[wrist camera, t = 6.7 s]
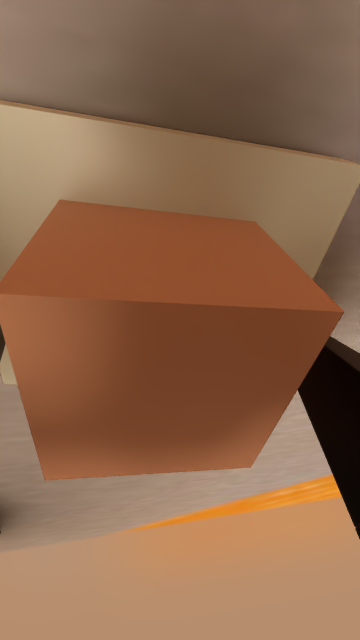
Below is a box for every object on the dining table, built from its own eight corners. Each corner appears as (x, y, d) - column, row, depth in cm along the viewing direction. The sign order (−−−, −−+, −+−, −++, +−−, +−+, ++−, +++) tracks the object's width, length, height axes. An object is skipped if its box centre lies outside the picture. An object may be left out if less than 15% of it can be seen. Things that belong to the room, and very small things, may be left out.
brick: (214, 354, 13) (250, 467, 9) (74, 352, 12) (44, 480, 8) (255, 221, 9) (344, 312, 5) (59, 199, 8) (-9, 293, 4)
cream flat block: (253, 362, 16) (271, 403, 14) (15, 359, 13) (-7, 408, 11) (340, 157, 10) (396, 174, 8) (-57, 90, 8) (-131, 87, 5)
